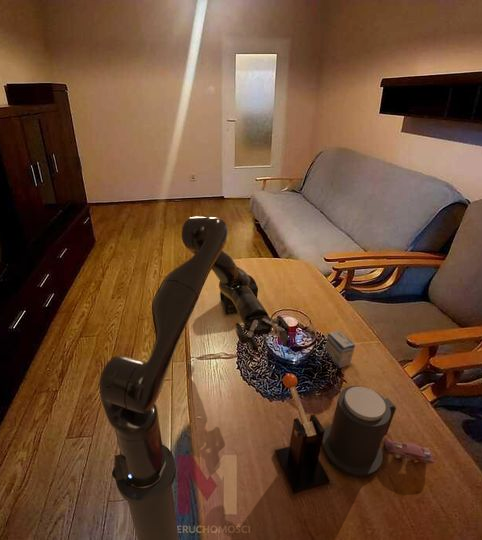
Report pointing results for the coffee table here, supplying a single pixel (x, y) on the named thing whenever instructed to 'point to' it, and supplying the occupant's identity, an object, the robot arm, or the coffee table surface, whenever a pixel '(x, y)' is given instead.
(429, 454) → the pink elongated piece
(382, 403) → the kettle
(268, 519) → the coffee table surface
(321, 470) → the switch stand
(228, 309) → the camera
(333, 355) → the medicine box
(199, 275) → the robot arm
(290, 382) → the orange knob lever
